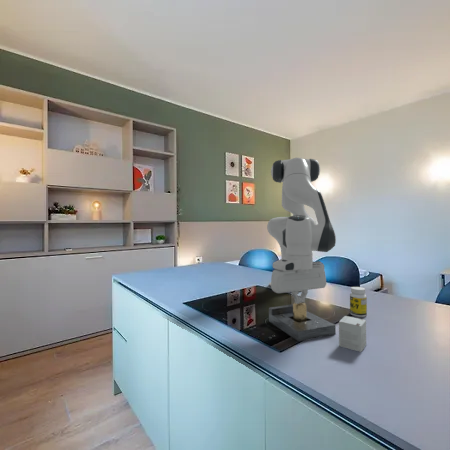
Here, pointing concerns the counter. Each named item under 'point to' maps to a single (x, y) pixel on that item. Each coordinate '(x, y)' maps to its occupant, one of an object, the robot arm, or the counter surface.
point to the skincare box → (352, 333)
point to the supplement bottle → (358, 302)
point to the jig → (300, 324)
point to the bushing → (299, 312)
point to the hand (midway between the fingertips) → (299, 303)
